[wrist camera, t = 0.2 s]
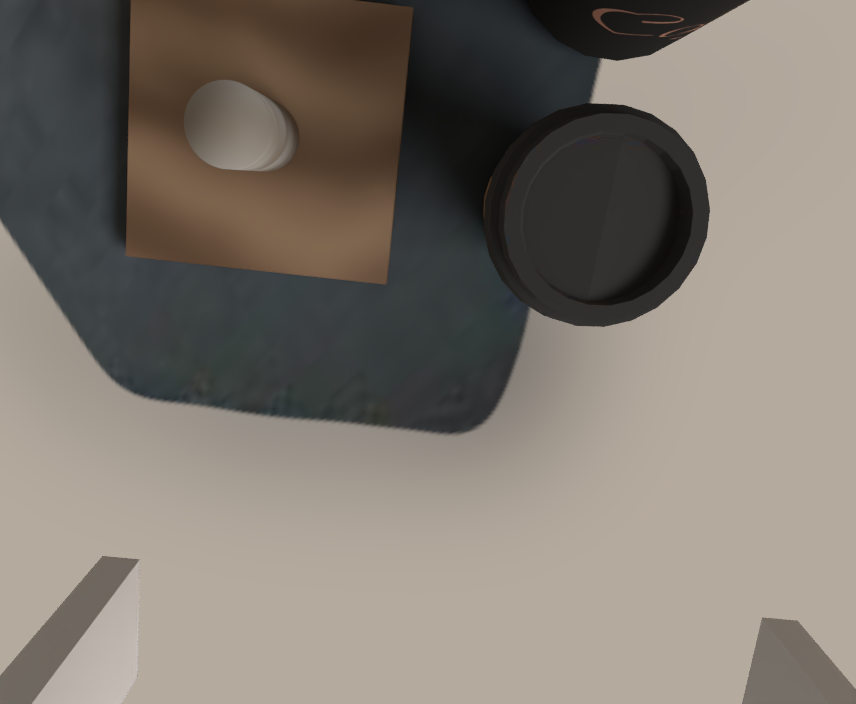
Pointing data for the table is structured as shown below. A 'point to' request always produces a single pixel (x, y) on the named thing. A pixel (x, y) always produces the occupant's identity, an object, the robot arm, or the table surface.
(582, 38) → the coffee jar
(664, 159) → the coffee cup
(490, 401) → the table surface
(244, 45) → the post block
